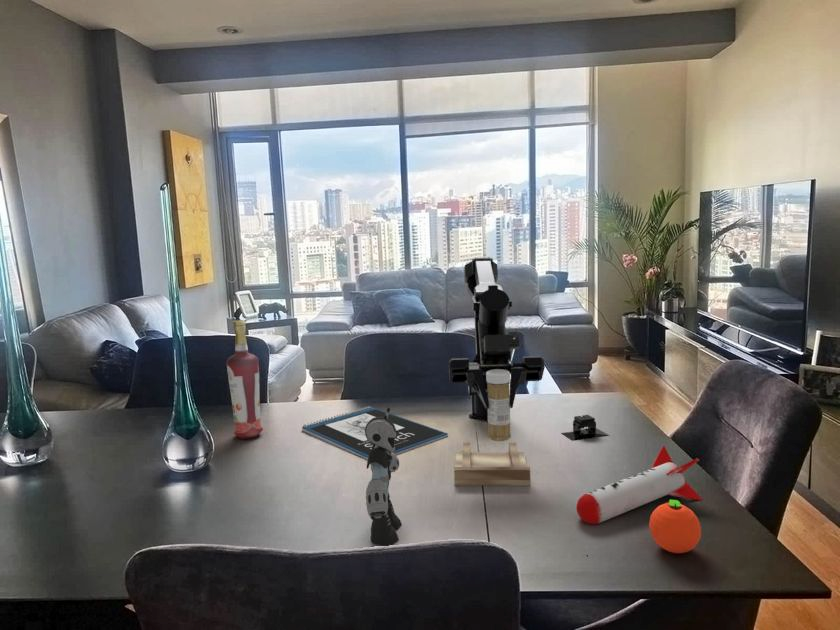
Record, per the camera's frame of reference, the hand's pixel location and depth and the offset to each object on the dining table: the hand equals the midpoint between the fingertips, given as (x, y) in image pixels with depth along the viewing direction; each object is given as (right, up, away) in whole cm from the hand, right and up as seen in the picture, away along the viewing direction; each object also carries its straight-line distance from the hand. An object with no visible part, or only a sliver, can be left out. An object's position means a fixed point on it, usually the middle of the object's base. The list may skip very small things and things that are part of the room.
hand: (499, 407), depth 113 cm
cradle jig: (-1, -13, +3) cm, 13 cm away
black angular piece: (+22, -10, +21) cm, 33 cm away
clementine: (+22, -17, -27) cm, 38 cm away
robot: (-21, -17, -19) cm, 33 cm away
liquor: (-57, -12, +29) cm, 64 cm away
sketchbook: (-27, -11, +28) cm, 40 cm away
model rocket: (+21, -15, -14) cm, 29 cm away
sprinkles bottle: (0, -6, +2) cm, 7 cm away
